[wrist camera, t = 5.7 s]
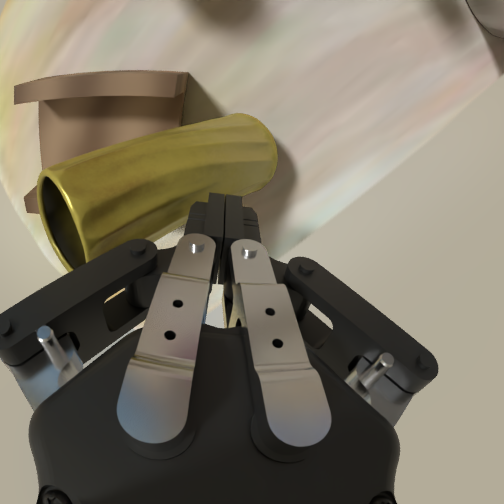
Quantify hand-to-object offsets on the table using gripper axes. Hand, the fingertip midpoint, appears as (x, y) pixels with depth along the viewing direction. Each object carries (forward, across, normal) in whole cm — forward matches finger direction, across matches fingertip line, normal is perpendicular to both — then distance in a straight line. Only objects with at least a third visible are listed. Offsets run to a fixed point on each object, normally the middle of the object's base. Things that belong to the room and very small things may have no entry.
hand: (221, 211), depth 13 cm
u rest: (+11, +10, 0) cm, 15 cm away
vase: (+9, -1, 0) cm, 9 cm away
